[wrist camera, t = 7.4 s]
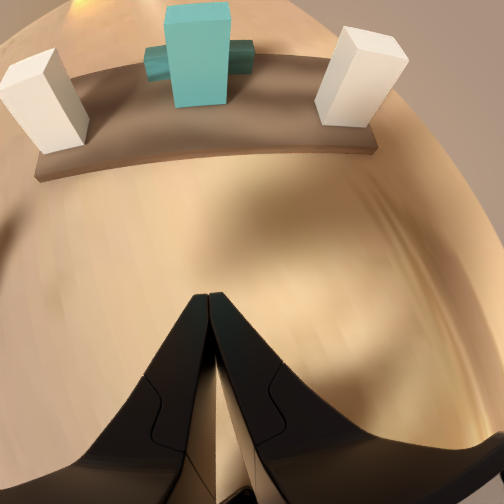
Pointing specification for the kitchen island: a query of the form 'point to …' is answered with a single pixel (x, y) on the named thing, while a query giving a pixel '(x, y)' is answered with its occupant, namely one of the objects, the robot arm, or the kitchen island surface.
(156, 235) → the kitchen island surface
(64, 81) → the grey key
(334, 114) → the grey key
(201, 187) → the kitchen island surface
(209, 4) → the teal key
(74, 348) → the kitchen island surface
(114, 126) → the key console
